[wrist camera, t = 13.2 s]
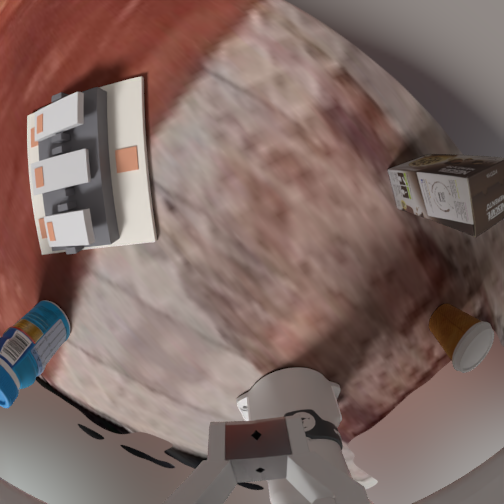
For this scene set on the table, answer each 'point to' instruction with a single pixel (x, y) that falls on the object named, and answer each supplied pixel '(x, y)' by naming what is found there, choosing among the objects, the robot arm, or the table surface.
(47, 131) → the rocker
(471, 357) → the disposable coffee cup
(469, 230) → the coffee box
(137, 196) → the switch unit
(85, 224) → the white rectangular block
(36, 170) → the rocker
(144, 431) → the table surface
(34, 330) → the beverage bottle
